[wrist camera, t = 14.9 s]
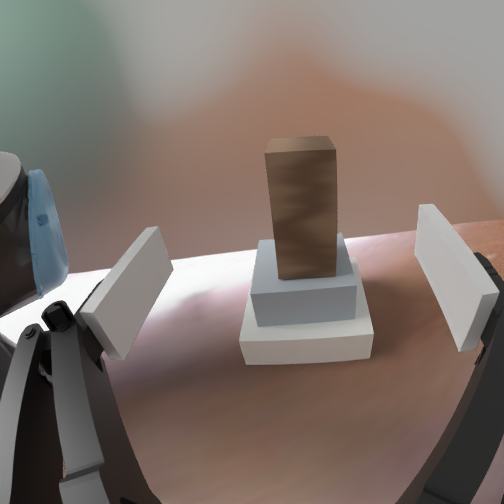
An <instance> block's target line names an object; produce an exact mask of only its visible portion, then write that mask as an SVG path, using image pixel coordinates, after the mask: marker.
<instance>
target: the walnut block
mask: <svg viewBox="0 0 504 504" xmlns="http://www.w3.org/2000/svg"><path fill="white" fill-rule="evenodd" d="M265 161H266V169H267V177H268V186H269V195H270V204H271V213H272V222H273V232H274V241H275V251H276V260H277V270H278V279H298V278H323V277H336V261H337V163H336V149H335V147H334V145H333V144H332V142H331V140H330V139H329V137H328V136H314V137H313V136H312V137H294V138H279V139H270V140H269V142H268V145H267V148H266V151H265Z"/></svg>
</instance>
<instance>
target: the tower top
mask: <svg viewBox="0 0 504 504" xmlns="http://www.w3.org/2000/svg"><path fill="white" fill-rule="evenodd" d="M356 295H357V283H356V280H355V276H354V272H353V269H352V266H351V262H350V259H349V255H348V252H347V249H346V245H345V242H344V239H343V236H342V233H337V261H336V277H323V278H298V279H278V270H277V260H276V251H275V241H274V239H269V240H259V243H258V249H257V255H256V261H255V267H254V274H253V280H252V286H251V292H250V296H251V300H252V305H253V309H254V313H255V318H256V322H257V326H258V327H261V326H279V325H295V324H308V323H320V322H331V321H342V320H351V319H355V311H356Z"/></svg>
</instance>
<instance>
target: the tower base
mask: <svg viewBox="0 0 504 504" xmlns="http://www.w3.org/2000/svg"><path fill="white" fill-rule="evenodd" d="M349 259H350V262H351V266H352V269H353V272H354V276H355V280H356V283H357V295H356V311H355V319H351V320H342V321H331V322H320V323H308V324H295V325H279V326H261V327H258V326H257V322H256V318H255V313H254V309H253V305H252V300H251V296H250V292H251V286H252V280H253V275H252V280H251V285H250V290H249V294H248V299H247V304H246V309H245V313H244V318H243V323H242V328H241V332H240V337H239V344H240V347H241V350H242V354H243V357H244V360H245V363H246V365H277V364H305V363H323V362H337V361H349V360H360V359H370V354H371V348H372V343H373V337H374V331H373V327H372V322H371V318H370V313H369V309H368V305H367V301H366V297H365V293H364V289H363V285H362V281H361V277H360V273H359V269H358V266H357V262H356V258H355V257H354V258H349ZM254 267H255V266H254ZM253 274H254V270H253Z"/></svg>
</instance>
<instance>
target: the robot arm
mask: <svg viewBox="0 0 504 504" xmlns="http://www.w3.org/2000/svg"><path fill="white" fill-rule="evenodd" d="M414 254H415V256H416V258H417V260H418V262H419V263H420V265H421V267H422V269H423V271H424V273H425V275H426V277H427V279H428V281H429V283H430V286H431V288H432V290H433V292H434V294H435V296H436V298H437V301H438V303H439V305H440V307H441V309H442V312H443V314H444V316H445V319H446V321H447V323H448V326H449V328H450V331H451V333H452V336H453V338H454V341H455V343H456V346H457V348H458V351H459V352H464V351H468V350H473V349H475V348H476V346H477V344H478V342H479V340H480V338H481V340H482V342H483V344H484V347H483V349H482V351H481V353H480V355H479V356H478V358H477V360H476V362H475V365H476V366H475V369H474V371H473V373H472V376H471V378H470V381H469V383H468V385H467V387H466V390H465V392H464V394H463V396H462V398H461V400H460V402H459V404H458V406H457V408H456V410H455V412H454V414H453V416H452V418H451V420H450V422H449V424H448V426H447V427H446V429H445V431H444V433H443V435H442V436H441V438H440V440H439V441H438V443H437V445H436V446H435V448H434V450H433V451H432V453H431V455H430V456H429V458H428V459H427V461H426V462H425V464H424V465H423V467H422V468H421V470H420V471H419V473H418V474H417V476H416V477H415V478H414V480H413V481H412V483H411V484H410V485H409V487H408V488H407V489H406V491H405V492H404V493H403V495H402V496H401V497H400V499H399V500H398V501H397V502H396V503H395V504H470V503H471V501H472V499H473V497H474V496H475V494H476V492H477V490H478V488H479V487H480V485H481V483H482V481H483V479H484V477H485V475H486V473H487V471H488V469H489V467H490V465H491V463H492V460H493V458H494V456H495V454H496V451H497V449H498V447H499V444H500V442H501V440H502V437H503V434H504V281H503V280H502V278H501V277H500V276H499V275H498V273H497V271H496V270H495V269H494V268H493V266H492V264H491V263H490V262H489V260H488V259H487V258H485V257H484V256H483V255H481V254H480V253H479V252H477V253H472V251H471V250H470V249H469V247H468V246H467V245H466V243H465V242H464V241H463V239H462V238H461V237H460V236H459V234H458V233H457V232H456V231H455V229H454V228H453V227H452V226H451V225H450V223H449V222H448V221H447V220H446V219H445V217H444V216H443V215H442V214H441V213H440V212H439V210H438V209H437V208H436V207H435V206H434V205H433V204H419V214H418V225H417V234H416V243H415V251H414ZM172 271H173V266H172V264H171V261H170V258H169V255H168V253H167V250H166V247H165V244H164V241H163V239H162V235H161V233H160V230H159V226H157V227H149V228H146V229H145V230H144V231H143V232H142V233H141V235H140V236H139V237H138V238H137V239H136V240H135V242H134V243H133V244H132V245H131V247H130V248H129V249H128V250H127V251H126V252H125V254H124V255H123V256H122V257H121V258H120V260H119V261H118V262H117V263H116V265H115V266H114V267H113V268H112V270H111V271H110V272H109V273H108V275H107V276H106V277H105V278H104V279H103V280H102V281H100V282H99V283H98V284H97V285H96V286H95V288H94V289H93V290H92V292H91V293H90V294H89V296H88V298H86V300H85V301H84V302H83V304H82V305H81V306H80V308H79V309H78V310H77V312H76V313H75V314H74V315H73V314H72V312H71V310H70V309H69V307H68V305H67V304H66V302H65V301H57V302H54V303H52V304H51V305H49V306H48V307H47V308H46V309H45V310H44V312H43V313H42V316H41V318H42V319H43V321H44V322H45V324H46V325H47V327H48V328H49V331H43V329H42V328H41V326H40V325H39V324H37V323H36V324H32V325H29V326H27V327H26V328H25V329H24V331H23V332H22V333H21V335H20V338H19V340H18V343H17V344H15V343H14V342H12V341H11V340H10V339H8V338H7V337H6V336H4V335H3V334H1V333H0V504H162V503H161V502H160V501H159V499H158V498H157V497H156V496H155V495H154V494H153V493H152V492H151V490H150V489H149V487H148V485H147V482H146V480H145V478H144V476H143V474H142V471H141V469H140V467H139V464H138V462H137V460H136V457H135V455H134V452H133V450H132V447H131V445H130V442H129V439H128V437H127V434H126V431H125V428H124V426H123V423H122V420H121V417H120V414H119V411H118V408H117V405H116V401H115V398H114V395H113V392H112V388H111V385H110V381H109V378H108V374H107V370H106V366H105V362H104V360H103V358H102V357H101V354H102V352H103V350H104V351H105V352H106V354H107V355H108V356H109V358H110V359H114V360H121V361H124V360H125V358H126V356H127V354H128V352H129V350H130V348H131V346H132V344H133V342H134V340H135V338H136V336H137V335H138V333H139V331H140V329H141V327H142V325H143V323H144V321H145V320H146V318H147V316H148V314H149V312H150V310H151V308H152V307H153V305H154V303H155V301H156V299H157V298H158V296H159V294H160V292H161V290H162V289H163V287H164V285H165V283H166V282H167V280H168V278H169V276H170V275H171V273H172ZM67 275H68V259H67V254H66V249H65V244H64V240H63V236H62V232H61V228H60V224H59V220H58V216H57V212H56V208H55V204H54V201H53V198H52V194H51V190H50V187H49V184H48V181H47V178H46V176H45V175H44V172H43V171H42V170H35V171H34V170H31V171H30V172H29V173H28V174H27V175H26V174H25V172H24V170H23V167H22V165H21V163H20V160H19V159H18V157H17V156H16V155H14V154H12V153H6V152H1V151H0V318H1V317H3V316H5V315H7V314H9V313H11V312H13V311H15V310H17V309H19V308H21V307H23V306H25V305H27V304H29V303H31V302H34V301H36V300H38V299H41V298H43V296H44V295H45V294H47V293H48V292H50V291H52V290H53V289H55V288H57V287H59V286H60V285H61V284H62V283H63V282H64V281H65V279H66V277H67ZM38 366H40V367H41V369H42V370H43V371H44V372H43V376H42V375H41V374H40V373H39V371H38ZM63 458H64V463H65V467H66V472H67V476H66V477H65V478H63ZM501 504H504V495H503V498H502V501H501Z"/></svg>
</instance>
